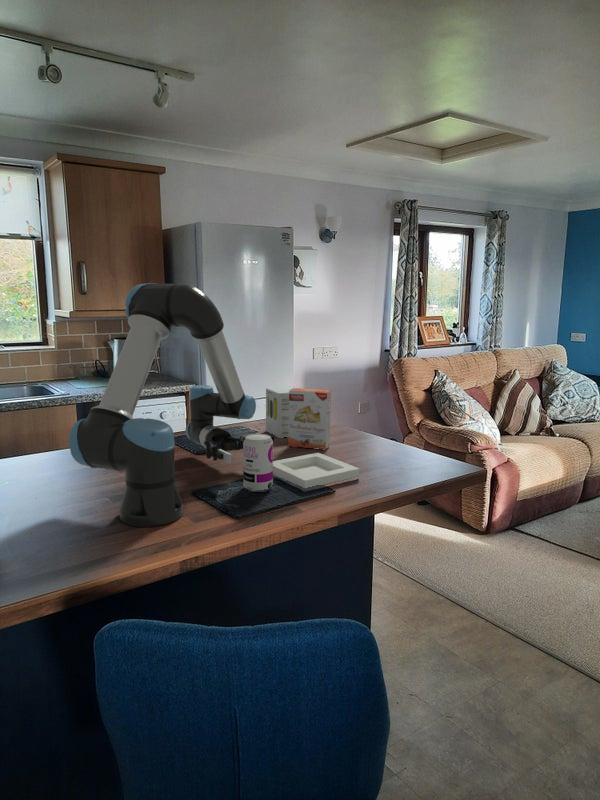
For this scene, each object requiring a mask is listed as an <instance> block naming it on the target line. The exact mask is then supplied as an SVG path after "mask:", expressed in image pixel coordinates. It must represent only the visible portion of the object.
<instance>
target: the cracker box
mask: <svg viewBox="0 0 600 800" xmlns="http://www.w3.org/2000/svg"><path fill="white" fill-rule="evenodd" d="M331 397H332V390H329V389H327V390H326V389H315V388H301V387H299V388H293V389H291V390H289V430H288V437H287V438H288V443H287V445H288V446H292V447H291V448H297V447H305V448H304V449H306V448H319V449H326V448H327V447H328V446H329V447H330V438H331V437H330V436H331V435H330V433H331V409H332V407H331V404H332V403H331V401H332V398H331ZM288 446H287V447H288ZM329 447H328V448H329ZM328 448H327V449H328ZM327 449H326V450H327Z"/></svg>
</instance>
